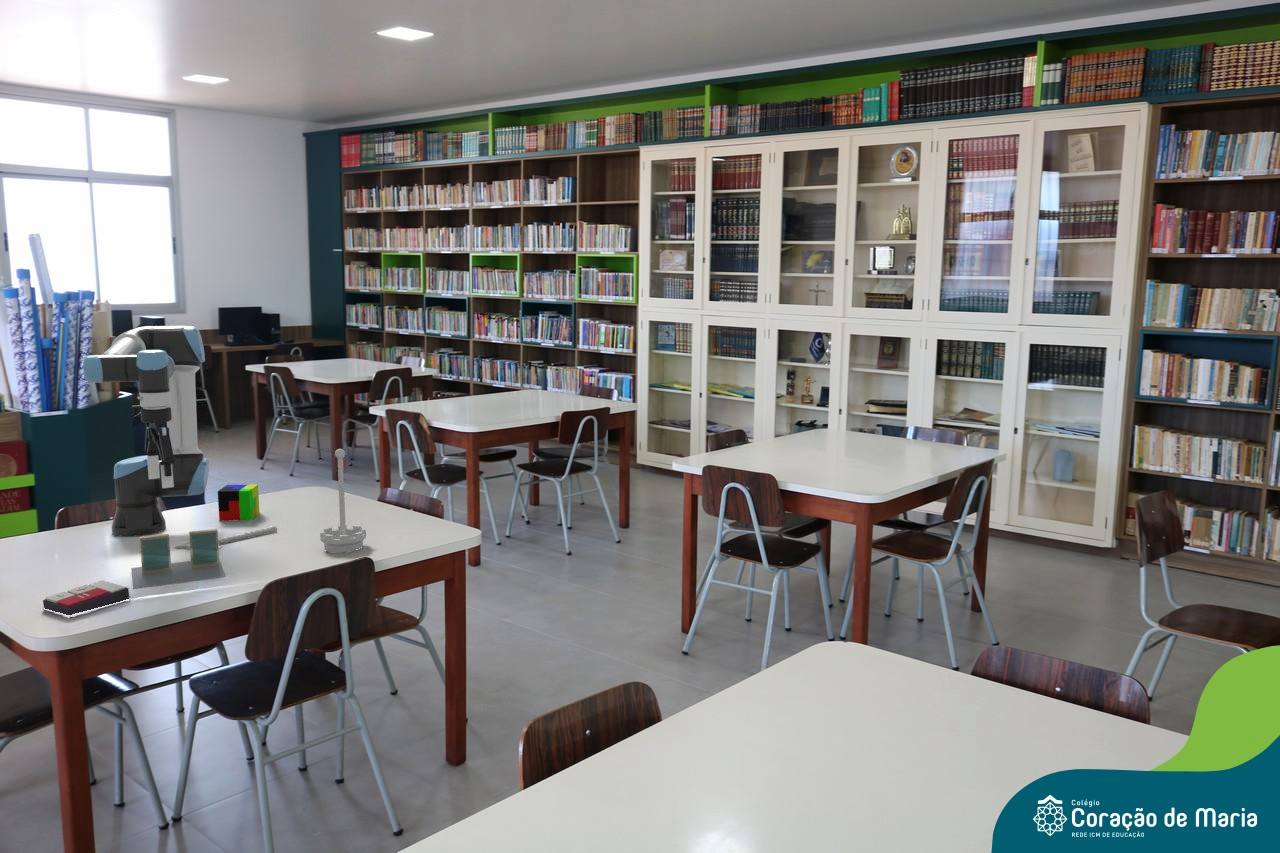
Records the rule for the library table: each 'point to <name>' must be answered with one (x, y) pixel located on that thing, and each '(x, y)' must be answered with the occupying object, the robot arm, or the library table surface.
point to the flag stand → (342, 521)
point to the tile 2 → (204, 548)
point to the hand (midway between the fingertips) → (161, 483)
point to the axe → (236, 537)
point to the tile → (155, 554)
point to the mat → (176, 575)
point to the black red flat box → (86, 597)
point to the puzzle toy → (238, 502)
